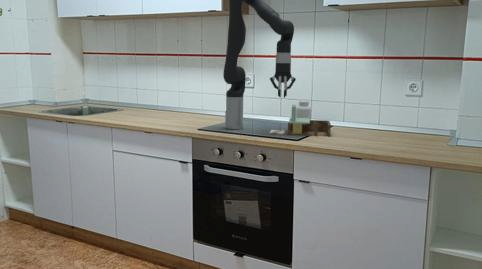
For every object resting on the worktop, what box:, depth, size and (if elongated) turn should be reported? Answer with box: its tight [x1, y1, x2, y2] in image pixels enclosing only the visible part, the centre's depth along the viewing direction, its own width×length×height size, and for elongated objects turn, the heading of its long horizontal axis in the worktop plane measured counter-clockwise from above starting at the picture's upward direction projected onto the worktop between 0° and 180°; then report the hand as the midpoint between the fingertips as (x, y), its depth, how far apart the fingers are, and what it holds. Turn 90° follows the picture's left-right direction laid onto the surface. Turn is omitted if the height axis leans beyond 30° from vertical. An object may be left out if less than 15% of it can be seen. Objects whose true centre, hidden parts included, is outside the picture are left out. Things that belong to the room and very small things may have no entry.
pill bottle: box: [296, 100, 312, 120], centre depth 246 cm, size 8×8×15 cm
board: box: [268, 119, 332, 138], centre depth 227 cm, size 30×13×7 cm, turn 82°
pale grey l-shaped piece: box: [288, 104, 310, 124], centre depth 226 cm, size 10×13×8 cm
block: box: [293, 123, 302, 134], centre depth 227 cm, size 4×4×6 cm
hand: (282, 97), depth 225 cm, fingers closed
